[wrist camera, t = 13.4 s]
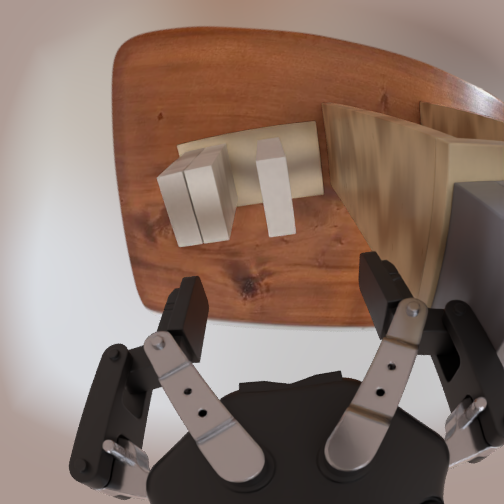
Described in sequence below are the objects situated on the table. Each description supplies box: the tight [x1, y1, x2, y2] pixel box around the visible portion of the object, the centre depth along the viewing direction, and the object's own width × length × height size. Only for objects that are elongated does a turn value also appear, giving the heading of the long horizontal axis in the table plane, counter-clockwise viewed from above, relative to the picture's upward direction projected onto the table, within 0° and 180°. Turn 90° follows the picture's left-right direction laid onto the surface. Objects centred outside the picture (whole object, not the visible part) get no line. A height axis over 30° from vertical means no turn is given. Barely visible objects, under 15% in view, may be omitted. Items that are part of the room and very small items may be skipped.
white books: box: [157, 121, 324, 247], centre depth 28 cm, size 9×16×10 cm, turn 100°
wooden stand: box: [321, 102, 504, 367], centre depth 17 cm, size 10×14×29 cm
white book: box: [256, 137, 296, 237], centre depth 28 cm, size 7×2×10 cm, turn 10°
